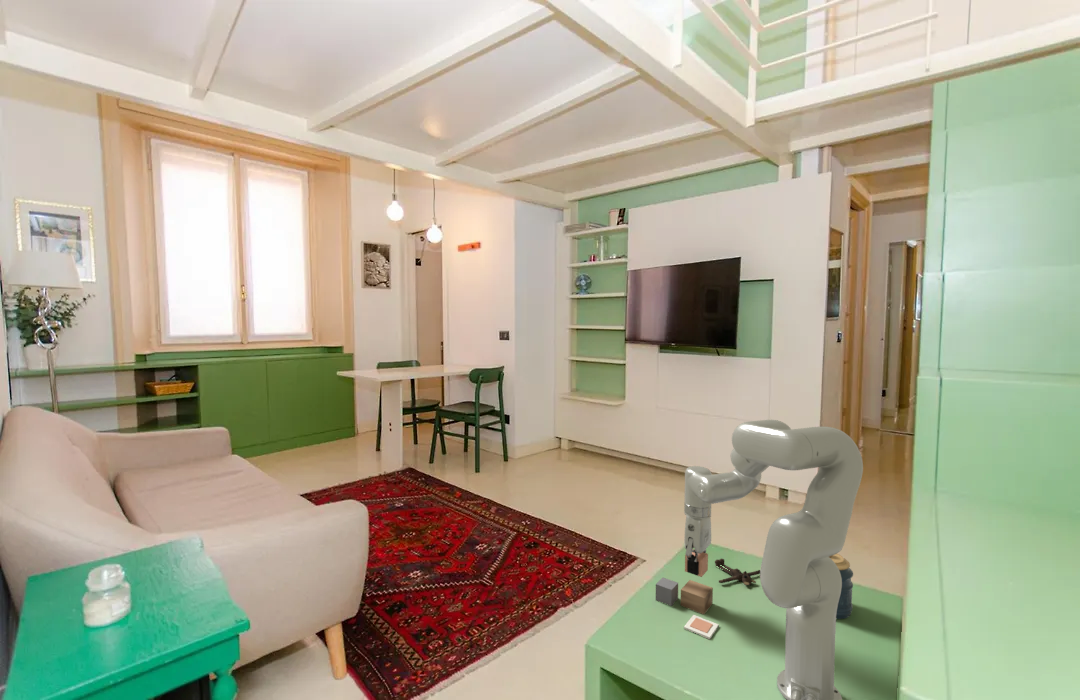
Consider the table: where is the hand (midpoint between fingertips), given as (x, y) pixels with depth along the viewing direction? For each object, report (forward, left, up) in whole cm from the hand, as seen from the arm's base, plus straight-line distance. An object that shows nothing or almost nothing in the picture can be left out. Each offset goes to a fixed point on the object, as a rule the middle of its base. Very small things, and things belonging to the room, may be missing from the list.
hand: (696, 569), depth 137 cm
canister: (+23, -30, -11) cm, 39 cm away
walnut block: (0, 0, -11) cm, 11 cm away
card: (-10, -5, -11) cm, 16 cm away
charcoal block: (-3, +8, -11) cm, 14 cm away
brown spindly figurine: (+24, -4, -11) cm, 27 cm away
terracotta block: (0, 0, -1) cm, 1 cm away
